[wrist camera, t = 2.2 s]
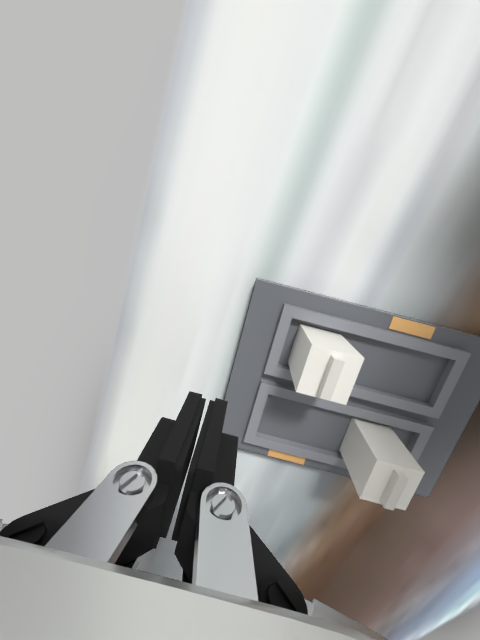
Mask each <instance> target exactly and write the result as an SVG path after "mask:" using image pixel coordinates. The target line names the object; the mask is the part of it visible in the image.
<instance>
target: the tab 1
mask: <svg viewBox="0 0 480 640" xmlns="http://www.w3.org/2000/svg"><path fill="white" fill-rule="evenodd" d="M363 361H364V357H363V356H362V355H361V354H360V353H359V352H358V351H357V350H356V349H355V348H354V347H353V346H352V345H351V344H350V343H349V342H348V341H347V340H346V339H345V338H344V337H343V336H342V335H341V334H337V333H334V332H330V331H326V330H322V329H318V328H314V327H311V326H307V325H303V324H300V325H299V328H298V331H297V334H296V337H295V340H294V344H293V347H292V350H291V353H290V356H289V359H288V365H289V369H290V372H291V376H292V380H293V383H294V387H295V390H296V392H298V393H302V394H305V395H309V396H313V397H317V398H321V399H325V400H329V401H332V402H336V403H340V404H344V405H346V404H347V401H348V399H349V396H350V394H351V391H352V389H353V386H354V384H355V381H356V379H357V376H358V374H359V371H360V369H361V366H362V364H363Z"/></svg>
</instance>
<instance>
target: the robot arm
mask: <svg viewBox="0 0 480 640" xmlns="http://www.w3.org/2000/svg"><path fill="white" fill-rule="evenodd" d="M205 401H206V399H204V398H202V394H198V393H194V392H189V394H188V396H187V398H186V400H185V402H184V404H183V407H182V409H181V411H180V413H179V415H178V417H177V419H176V421H175V420H171V419H168V418H164V417H162V418H161V420H160V421H159V423H158V425H157V426H156V428H155V430H154V432H153V433H152V435H151V437H150V439H149V440H148V442H147V444H146V446H145V447H144V449H143V451H142V453H141V455H140V456H139V458H138V460H137V461H129V462H124V463H122V464H120V465H118V466H117V467H116V468H114V469H113V470H112V471H111V472H110V473H109V474H108V476H107V477H106V478H105V479H104V480H103V481H102V482H101V483H100V485H99V486H98V487H97V488H96V489H93V490H91V491H88V492H85V493H83V494H80V495H78V496H75V497H72V498H69V499H67V500H64V501H62V502H59V503H56V504H54V505H51V506H48V507H46V508H43V509H41V510H38V511H35V512H32V513H30V514H27V515H25V516H22V517H20V518H18V519H16V520H14V521H12V522H11V523H10V524H2V519H0V640H387V639H386V638H385V637H383V636H382V635H380V634H378V633H377V632H375V631H373V630H371V629H369V628H367V627H365V626H364V625H362V624H360V623H358V622H356V621H354V620H353V619H351V618H349V617H347V616H345V615H343V614H341V613H340V612H338V611H336V610H334V609H332V608H330V607H328V606H327V605H325V604H323V603H321V602H319V601H317V600H316V599H313V601H312V603H311V602H309V601H308V600H306V599H304V597H303V595H302V593H301V591H300V590H299V588H298V587H297V585H296V584H295V583H294V581H293V580H292V579H291V577H290V576H289V575H288V574H287V572H286V571H285V570H284V569H283V567H282V566H281V565H280V563H279V562H278V561H277V560H276V558H275V557H274V556H273V555H272V553H271V552H270V551H269V549H268V548H267V547H266V546H265V544H264V543H263V542H262V541H261V539H260V538H259V537H258V535H257V534H256V533H255V532H254V530H253V529H252V528H251V526H250V525H249V519H248V511H247V504H246V500H245V498H244V496H243V495H242V493H241V492H240V491H239V490H238V489H237V488H236V487H234V479H235V468H236V458H237V448H238V437H237V436H233V435H230V434H226V433H222V430H223V425H224V419H225V414H226V409H227V404H228V401H225V400H221V399H217V398H216V400H215V401H211V400H210V402H209V406H208V409H207V412H206V415H205V419H204V422H203V425H202V428H201V431H200V435H199V438H198V441H197V444H196V448H195V451H194V454H193V457H192V453H193V449H194V445H195V441H196V437H197V433H198V429H199V425H200V421H201V417H202V413H203V409H204V405H205ZM191 457H192V461H191V464H190V468H189V471H188V475H187V479H186V483H185V487H184V491H183V495H182V499H181V503H180V507H179V511H178V515H177V519H176V523H175V527H174V531H173V535H172V540H175V541H177V545H176V549H175V555H176V557H177V559H178V561H179V563H180V565H181V567H182V570H181V574H180V581H178V580H174V579H170V578H167V577H163V576H159V575H155V574H151V573H147V572H143V571H139V570H136V568H137V566H138V563H139V561H140V558H141V555H143V554H145V553H146V552H148V551H150V550H151V549H153V548H155V549H156V547H157V544H158V541H159V538H160V537H163V538H166V536H167V533H168V530H169V527H170V524H171V520H172V517H173V514H174V511H175V508H176V505H177V501H178V498H179V495H180V492H181V489H182V486H183V482H184V479H185V476H186V473H187V470H188V467H189V463H190V460H191Z"/></svg>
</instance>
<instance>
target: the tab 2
mask: <svg viewBox="0 0 480 640" xmlns="http://www.w3.org/2000/svg"><path fill="white" fill-rule="evenodd" d="M339 450H340V452H341V455H342V457H343V460H344V462H345V464H346V467H347V469H348V472H349V474H350V477H351V479H352V481H353V484H354V486H355V489H356V491H357V493H358V496H359V498H360V499H363V500H367V501H371V502H375V503H379V504H382V505H383V507H384V508H385V509H389V510H393V511H394V509H395V508H398V509H402V510H406V508H407V506H408V504H409V503H410V501H411V499H412V497H413V495H414V493H415V491H416V489H417V487H418V485H419V483H420V481H421V479H422V477H423V475H424V473H425V472H424V471H423V469H422V468H421V467H420V465H419V464H418V463H417V461H416V460H415V459H414V457H413V456H412V455H411V453H410V452H409V451H408V450H407V448H406V447H405V446H404V444H403V443H402V442H401V440H400V439H399V438H398V436H397V435H396V434H395V432H394V431H393V430H392V428H391V427H389V426H385V425H381V424H377V423H373V422H370V421H366V420H362V419H358V418H354V417H352V419H351V422H350V424H349V427H348V429H347V432H346V434H345V437H344V439H343V441H342V444H341V446H340V449H339Z"/></svg>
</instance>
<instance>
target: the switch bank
mask: <svg viewBox="0 0 480 640" xmlns="http://www.w3.org/2000/svg"><path fill="white" fill-rule="evenodd" d="M300 324H303V325H307V326H311V327H314V328H318V329H322V330H326V331H330V332H334V333H337V334H341V335H342V336H343V337H344V338H345V339H346V340H347V341H348V342H349V343H350V344H351V345H352V346H353V347H354V348H355V349H356V350H357V351H358V352H359V353H360V354H361V355H362V356H363V357H364V361H363V364H362V366H361V369H360V371H359V374H358V376H357V379H356V381H355V384H354V386H353V389H352V391H351V394H350V396H349V399H348V401H347V404H346V405H344V404H340V403H336V402H332V401H329V400H325V399H321V398H317V397H313V396H309V395H305V394H302V393H298V392H296V390H295V387H294V383H293V380H292V376H291V372H290V369H289V365H288V359H289V356H290V353H291V350H292V347H293V344H294V340H295V337H296V334H297V331H298V328H299V325H300ZM224 400H225V401H228V404H227V409H226V414H225V419H224V425H223V430H222V433H226V434H230V435H233V436H237V437H238V448H240V449H244V450H248V451H251V452H255V453H259V454H263V455H267V456H271V457H275V458H278V459H282V460H286V461H290V462H294V463H298V464H302V465H306V466H309V467H313V468H317V469H321V470H325V471H329V472H333V473H336V474H340V475H344V476H348V477H350V474H349V472H348V469H347V467H346V464H345V462H344V460H343V457H342V455H341V452H340V450H339V449H340V446H341V444H342V441H343V439H344V437H345V434H346V432H347V429H348V427H349V424H350V422H351V419H352V417H354V418H358V419H362V420H366V421H370V422H373V423H377V424H381V425H385V426H389V427H391V428H392V430H393V431H394V432H395V434H396V435H397V436H398V438H399V439H400V440H401V442H402V443H403V444H404V446H405V447H406V448H407V450H408V451H409V452H410V453H411V455H412V456H413V457H414V459H415V460H416V461H417V463H418V464H419V465H420V467H421V468H422V469H423V471H424V472H425V473H424V475H423V477H422V479H421V481H420V483H419V485H418V487H417V489H416V491H415V493H414V494H417V495H421V496H425V497H429V495H430V493H431V491H432V489H433V487H434V485H435V483H436V481H437V480H438V478H439V476H440V474H441V472H442V470H443V468H444V466H445V465H446V463H447V461H448V459H449V457H450V455H451V453H452V451H453V450H454V448H455V446H456V444H457V442H458V440H459V438H460V436H461V434H462V433H463V431H464V429H465V427H466V425H467V423H468V421H469V419H470V418H471V416H472V414H473V412H474V410H475V408H476V406H477V404H478V403H479V401H480V336H478V335H474V334H470V333H466V332H462V331H459V330H455V329H451V328H447V327H443V326H439V325H436V324H432V323H428V322H424V321H420V320H417V319H413V318H409V317H405V316H401V315H397V314H394V313H390V312H386V311H382V310H378V309H374V308H371V307H367V306H363V305H359V304H355V303H352V302H348V301H344V300H340V299H336V298H332V297H329V296H325V295H321V294H317V293H313V292H309V291H306V290H302V289H298V288H294V287H290V286H287V285H283V284H279V283H275V282H271V281H267V280H264V279H260V278H257V279H256V283H255V287H254V290H253V294H252V298H251V302H250V305H249V309H248V313H247V317H246V320H245V324H244V328H243V332H242V335H241V339H240V343H239V347H238V350H237V354H236V358H235V362H234V365H233V369H232V373H231V377H230V380H229V384H228V388H227V392H226V395H225V399H224Z"/></svg>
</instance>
